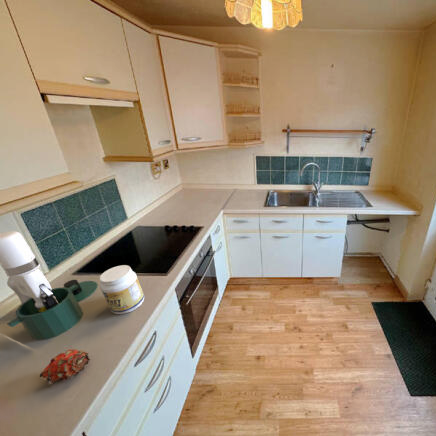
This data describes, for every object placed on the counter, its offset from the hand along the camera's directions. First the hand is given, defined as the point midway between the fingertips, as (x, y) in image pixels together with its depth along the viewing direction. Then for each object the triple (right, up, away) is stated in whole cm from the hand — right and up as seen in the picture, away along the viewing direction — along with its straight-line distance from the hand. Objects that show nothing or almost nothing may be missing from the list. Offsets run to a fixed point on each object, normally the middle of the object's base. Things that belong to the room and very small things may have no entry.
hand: (47, 305), depth 85 cm
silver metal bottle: (-18, -6, +12) cm, 22 cm away
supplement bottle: (0, -5, +2) cm, 5 cm away
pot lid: (-7, -2, +19) cm, 20 cm away
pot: (0, -9, +4) cm, 10 cm away
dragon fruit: (+21, -17, -13) cm, 30 cm away
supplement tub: (+21, -5, +13) cm, 25 cm away
